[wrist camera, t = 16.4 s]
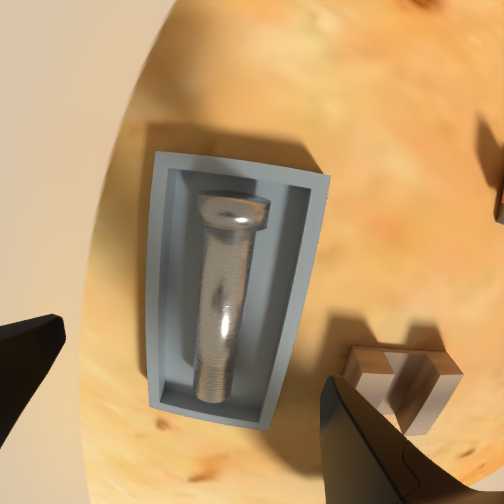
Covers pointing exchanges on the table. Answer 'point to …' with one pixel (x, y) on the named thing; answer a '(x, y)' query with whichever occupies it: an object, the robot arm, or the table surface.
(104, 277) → the table surface
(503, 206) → the keeper guide
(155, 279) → the tray
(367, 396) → the channel block
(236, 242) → the pin
